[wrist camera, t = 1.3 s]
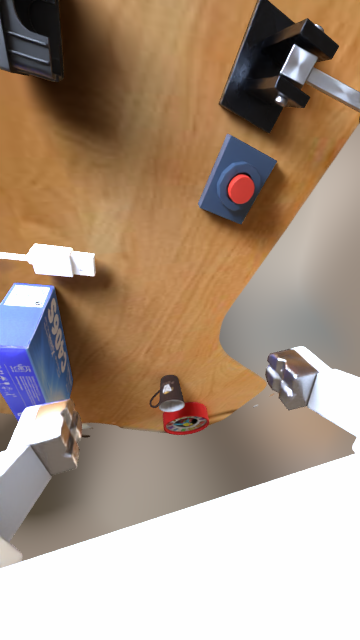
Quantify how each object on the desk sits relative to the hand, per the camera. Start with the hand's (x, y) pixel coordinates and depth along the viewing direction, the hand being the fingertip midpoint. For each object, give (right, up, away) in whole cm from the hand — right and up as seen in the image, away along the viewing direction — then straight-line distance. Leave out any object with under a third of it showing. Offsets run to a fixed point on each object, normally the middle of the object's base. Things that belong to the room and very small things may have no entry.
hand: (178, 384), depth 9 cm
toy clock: (+2, -39, +95) cm, 103 cm away
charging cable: (-33, +16, +36) cm, 51 cm away
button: (+10, +25, +29) cm, 40 cm away
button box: (+10, +27, +32) cm, 43 cm away
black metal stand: (+12, +37, +23) cm, 45 cm away
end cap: (-18, +38, +17) cm, 45 cm away
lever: (+18, +29, +17) cm, 38 cm away
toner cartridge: (-35, -3, +54) cm, 65 cm away
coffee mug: (-5, -19, +75) cm, 77 cm away
